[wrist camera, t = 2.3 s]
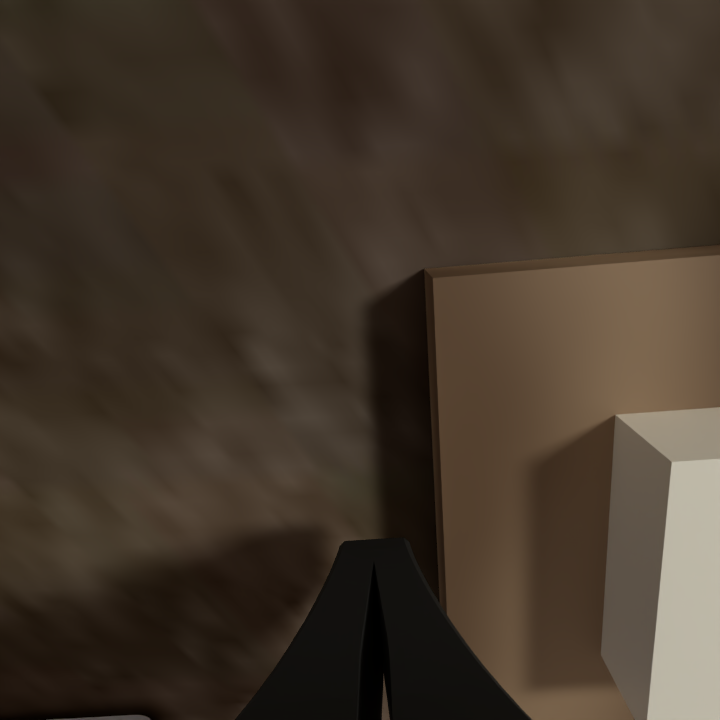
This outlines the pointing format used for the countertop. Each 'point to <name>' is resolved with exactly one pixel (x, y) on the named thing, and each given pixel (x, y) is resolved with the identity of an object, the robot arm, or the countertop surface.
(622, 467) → the cream tile
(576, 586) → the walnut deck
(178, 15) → the countertop surface
